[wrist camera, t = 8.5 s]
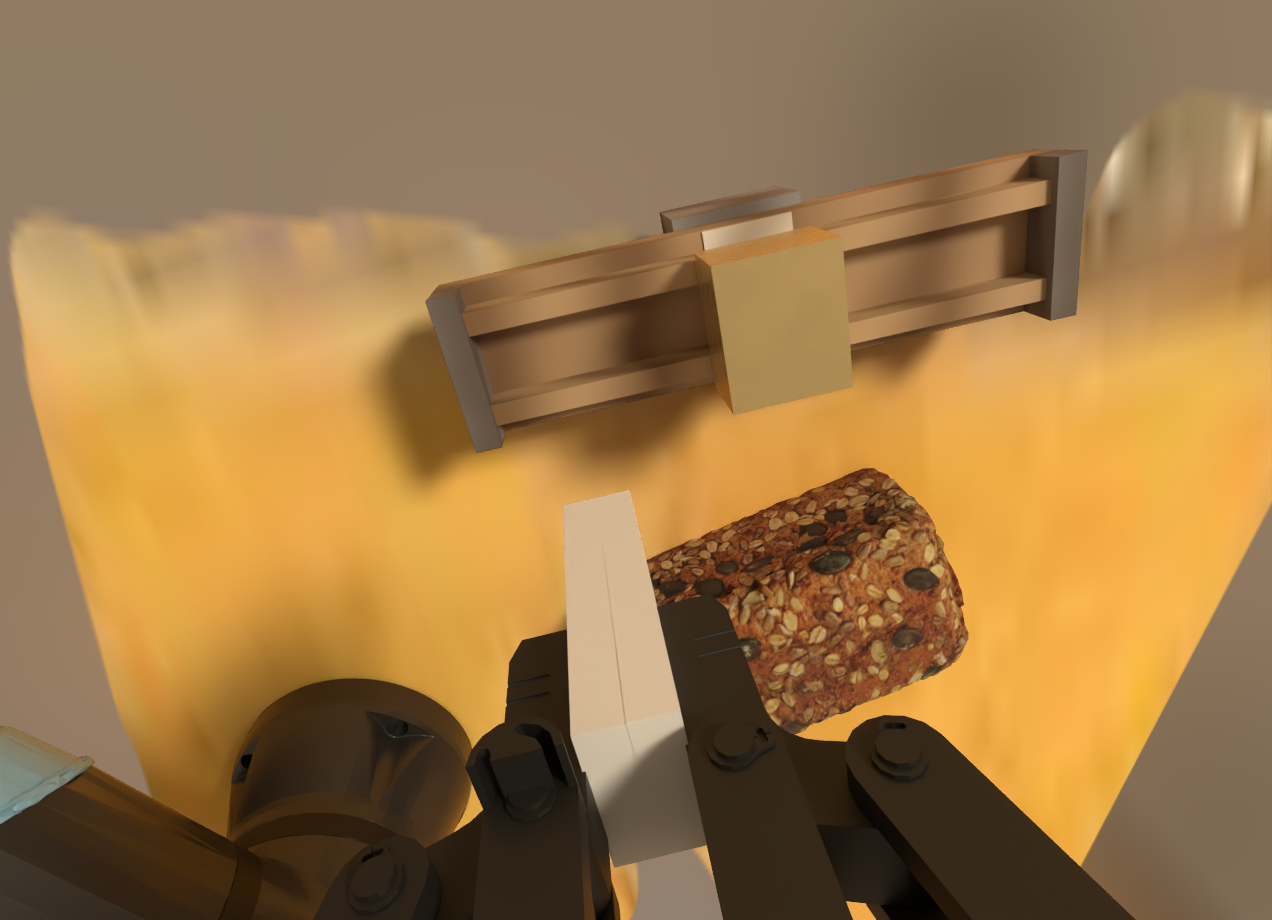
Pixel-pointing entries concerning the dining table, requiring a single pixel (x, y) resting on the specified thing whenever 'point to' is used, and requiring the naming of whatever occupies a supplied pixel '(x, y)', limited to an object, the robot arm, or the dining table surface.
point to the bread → (828, 595)
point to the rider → (776, 317)
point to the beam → (665, 265)
